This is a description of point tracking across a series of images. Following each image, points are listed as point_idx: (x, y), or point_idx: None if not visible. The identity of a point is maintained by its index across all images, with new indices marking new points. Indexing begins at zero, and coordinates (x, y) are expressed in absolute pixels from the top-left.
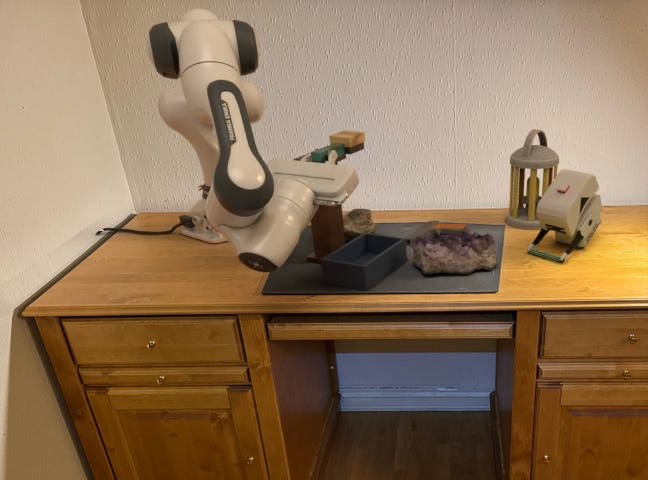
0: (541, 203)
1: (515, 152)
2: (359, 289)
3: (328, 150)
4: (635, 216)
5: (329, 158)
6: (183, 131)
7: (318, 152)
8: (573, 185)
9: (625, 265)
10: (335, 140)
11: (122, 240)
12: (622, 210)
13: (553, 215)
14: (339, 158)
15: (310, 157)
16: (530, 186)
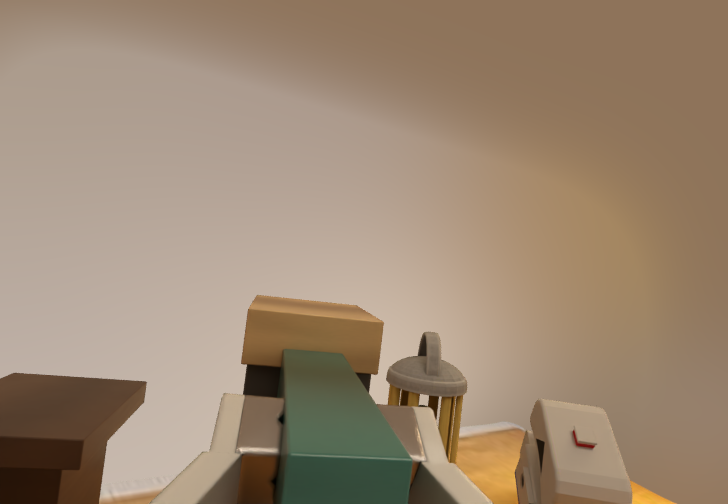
0: (563, 473)
1: (405, 368)
2: None
3: (381, 411)
4: (513, 452)
5: (468, 500)
6: None
7: (384, 451)
8: (593, 430)
9: None
10: (287, 335)
11: None
12: (484, 443)
13: (601, 499)
14: (131, 407)
15: (214, 497)
16: (442, 426)
